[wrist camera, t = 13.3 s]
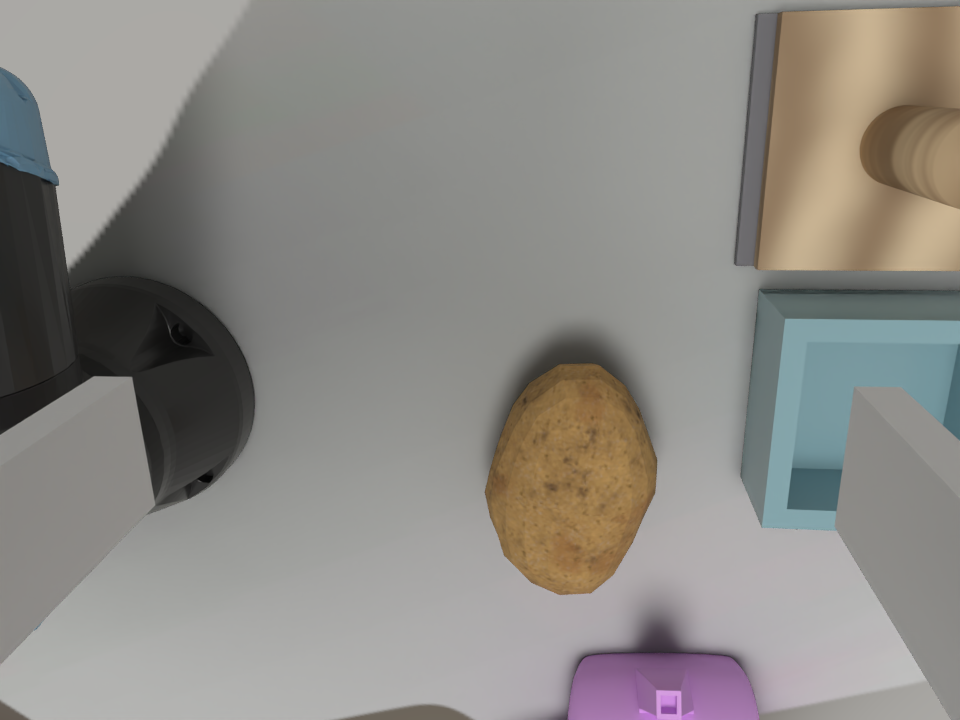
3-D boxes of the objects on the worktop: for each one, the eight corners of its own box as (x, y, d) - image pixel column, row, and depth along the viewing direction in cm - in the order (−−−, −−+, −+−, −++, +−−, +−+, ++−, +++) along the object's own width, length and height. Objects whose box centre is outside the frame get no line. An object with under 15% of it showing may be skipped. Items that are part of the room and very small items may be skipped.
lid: (753, 265, 44) (801, 315, 35) (777, 13, 40) (839, -8, 30) (1001, 267, 43) (1121, 319, 33) (1054, 4, 38) (1209, -21, 29)
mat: (734, 263, 45) (736, 265, 44) (756, 14, 40) (758, 13, 40) (1016, 264, 43) (1022, 267, 42) (1070, 4, 39) (1077, 3, 38)
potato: (668, 346, 47) (686, 396, 39) (632, 547, 52) (641, 626, 44) (506, 326, 48) (492, 372, 40) (484, 527, 52) (469, 601, 45)
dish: (740, 476, 49) (761, 527, 43) (759, 289, 45) (785, 318, 39) (944, 483, 48) (993, 537, 42) (982, 290, 44) (1042, 321, 38)
